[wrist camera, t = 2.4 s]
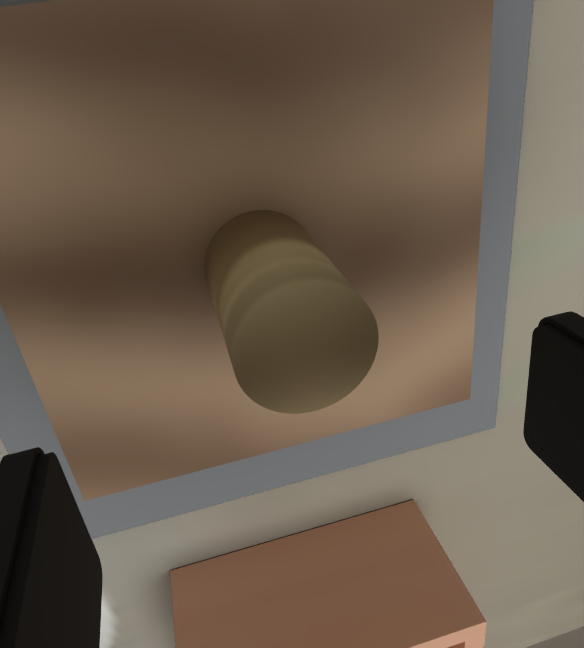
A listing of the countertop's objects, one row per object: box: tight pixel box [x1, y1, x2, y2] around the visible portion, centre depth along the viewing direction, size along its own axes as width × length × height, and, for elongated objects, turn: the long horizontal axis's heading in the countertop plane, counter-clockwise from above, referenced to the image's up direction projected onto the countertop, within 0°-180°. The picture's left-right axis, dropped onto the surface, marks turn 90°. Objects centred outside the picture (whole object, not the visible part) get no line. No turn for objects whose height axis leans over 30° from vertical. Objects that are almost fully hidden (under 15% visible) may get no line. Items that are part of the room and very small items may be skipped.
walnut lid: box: [0, 0, 494, 501], centre depth 14 cm, size 14×14×6 cm
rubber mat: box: [0, 0, 534, 539], centre depth 17 cm, size 20×18×1 cm
